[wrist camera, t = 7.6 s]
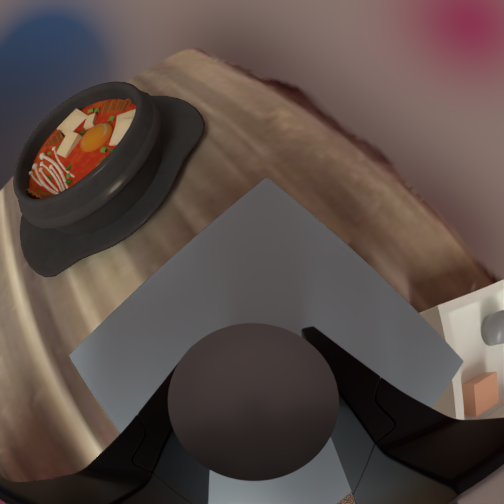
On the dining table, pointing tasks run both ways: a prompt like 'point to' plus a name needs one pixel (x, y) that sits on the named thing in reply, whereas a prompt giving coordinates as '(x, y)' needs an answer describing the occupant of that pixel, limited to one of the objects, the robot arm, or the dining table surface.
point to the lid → (260, 349)
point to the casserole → (99, 171)
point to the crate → (473, 352)
